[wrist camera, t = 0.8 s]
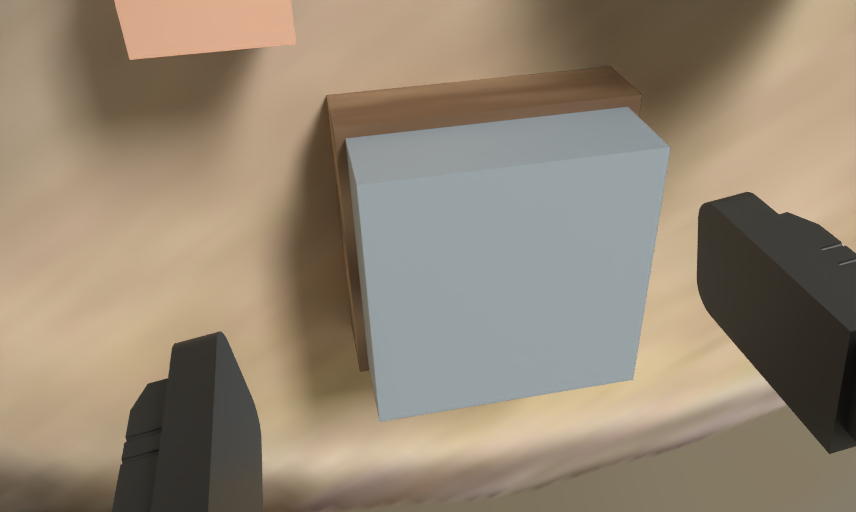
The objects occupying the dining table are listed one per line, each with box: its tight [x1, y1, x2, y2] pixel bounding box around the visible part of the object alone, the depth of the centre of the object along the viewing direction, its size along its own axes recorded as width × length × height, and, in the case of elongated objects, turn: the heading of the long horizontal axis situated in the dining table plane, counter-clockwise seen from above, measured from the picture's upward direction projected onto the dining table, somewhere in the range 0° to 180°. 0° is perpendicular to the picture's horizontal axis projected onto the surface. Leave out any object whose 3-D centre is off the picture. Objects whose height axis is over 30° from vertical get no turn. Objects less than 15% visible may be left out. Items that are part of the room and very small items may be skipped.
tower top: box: [345, 107, 671, 422], centre depth 33 cm, size 12×12×4 cm
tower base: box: [326, 66, 642, 372], centre depth 36 cm, size 13×13×4 cm
